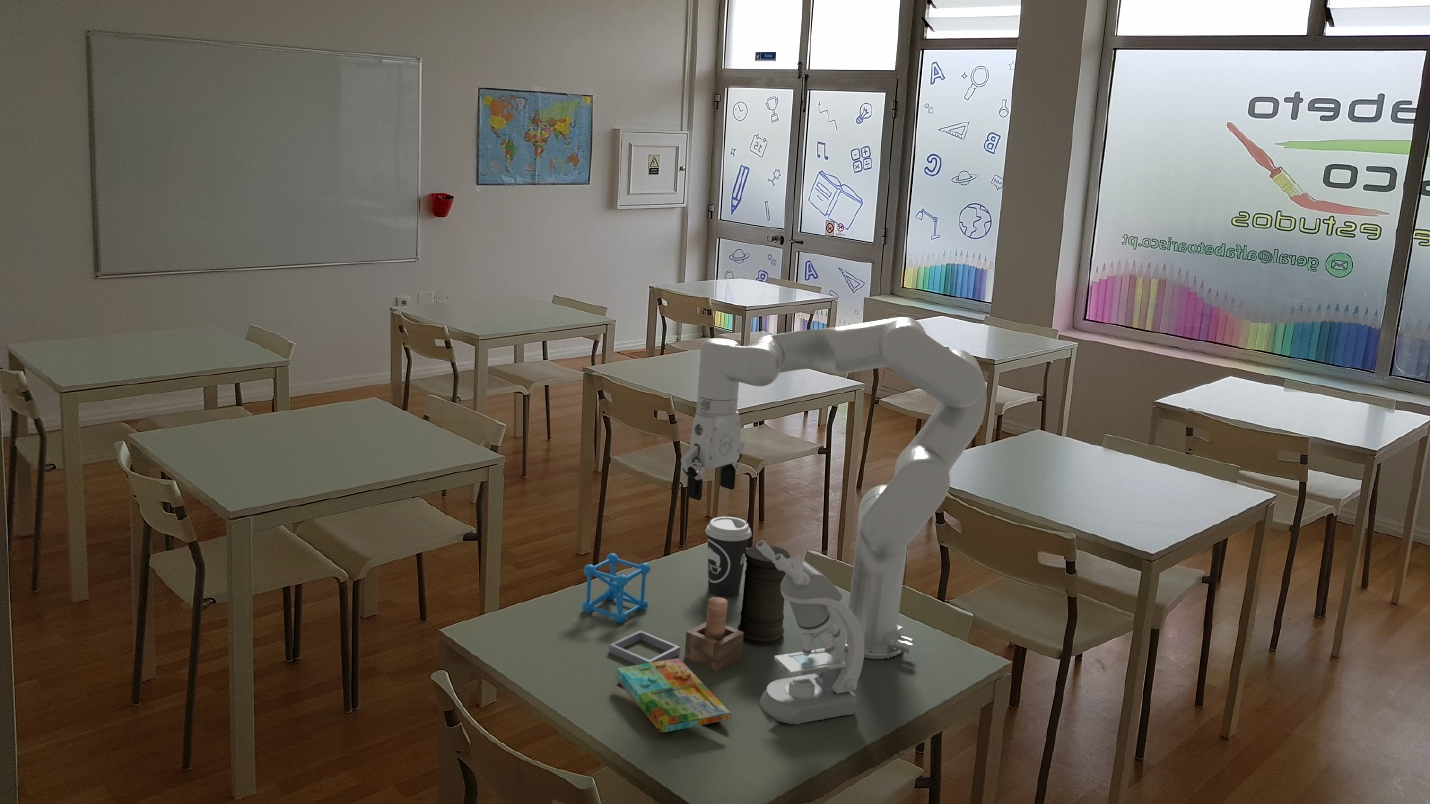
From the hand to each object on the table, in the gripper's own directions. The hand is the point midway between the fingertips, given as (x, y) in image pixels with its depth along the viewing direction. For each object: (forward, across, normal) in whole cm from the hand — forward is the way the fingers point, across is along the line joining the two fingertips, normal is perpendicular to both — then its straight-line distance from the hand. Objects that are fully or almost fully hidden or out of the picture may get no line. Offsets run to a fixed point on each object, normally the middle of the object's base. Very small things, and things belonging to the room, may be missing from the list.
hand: (710, 492), depth 214 cm
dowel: (+26, -11, -12) cm, 31 cm away
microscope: (+27, -13, -33) cm, 44 cm away
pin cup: (+27, -11, -12) cm, 31 cm away
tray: (+27, -19, -3) cm, 33 cm away
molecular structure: (+27, -9, +15) cm, 32 cm away
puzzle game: (+27, -29, -18) cm, 44 cm away
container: (+27, +3, -12) cm, 30 cm away
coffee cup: (+27, +16, +7) cm, 32 cm away
